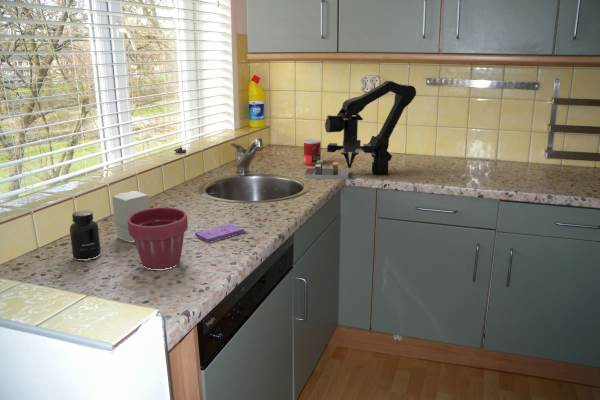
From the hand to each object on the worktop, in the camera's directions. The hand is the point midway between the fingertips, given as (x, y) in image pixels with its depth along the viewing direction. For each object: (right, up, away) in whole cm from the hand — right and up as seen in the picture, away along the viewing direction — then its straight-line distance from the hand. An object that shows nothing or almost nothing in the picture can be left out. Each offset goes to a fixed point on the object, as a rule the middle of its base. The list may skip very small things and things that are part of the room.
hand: (349, 168), depth 213 cm
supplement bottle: (-76, -28, -80) cm, 114 cm away
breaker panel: (-9, -3, +2) cm, 10 cm away
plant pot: (-56, -30, -85) cm, 106 cm away
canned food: (-15, +3, +22) cm, 27 cm away
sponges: (-44, -24, -65) cm, 82 cm away
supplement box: (-68, -24, -67) cm, 99 cm away
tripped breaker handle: (-6, -1, +1) cm, 6 cm away
